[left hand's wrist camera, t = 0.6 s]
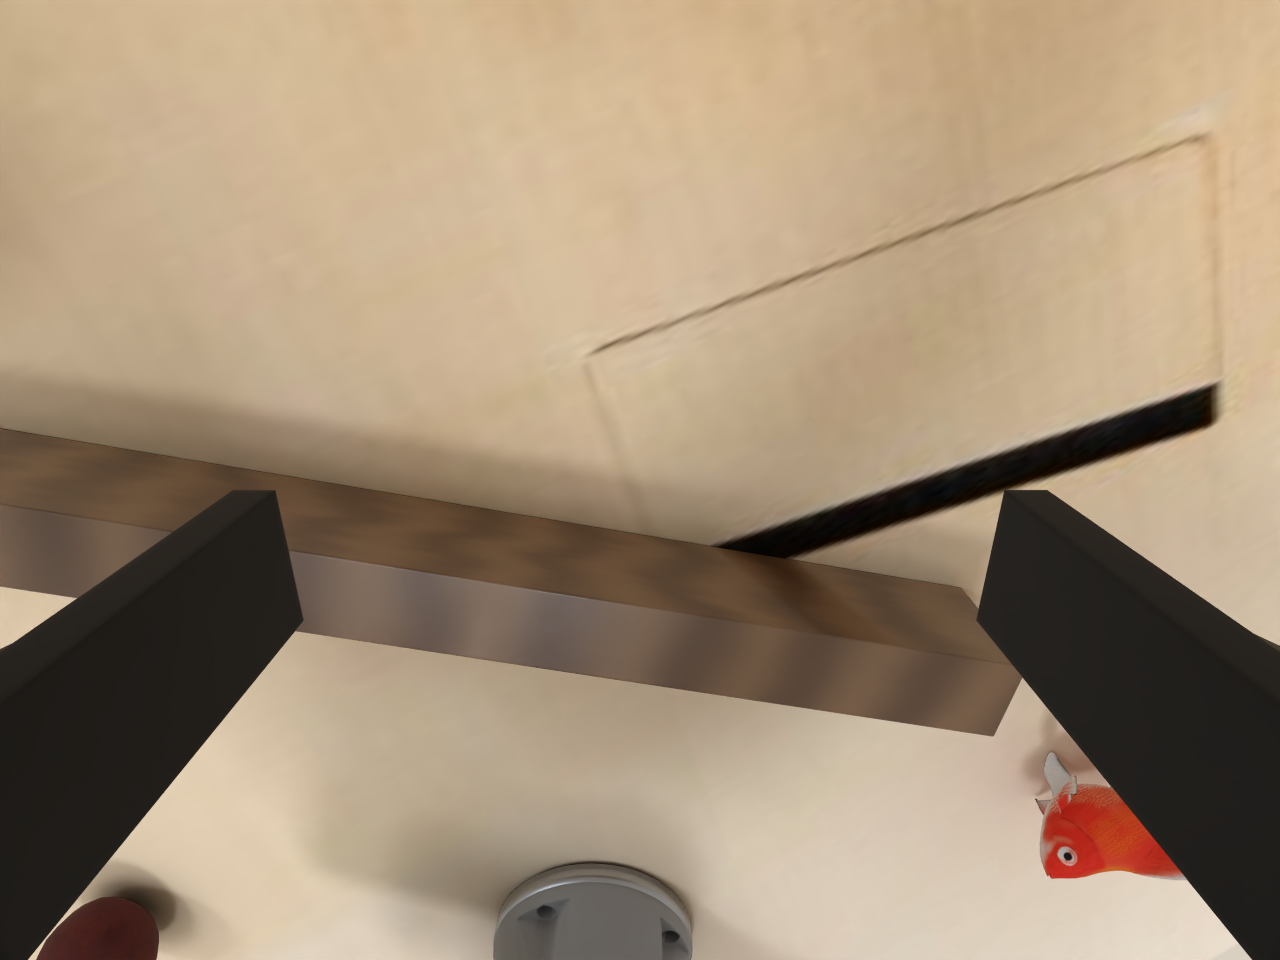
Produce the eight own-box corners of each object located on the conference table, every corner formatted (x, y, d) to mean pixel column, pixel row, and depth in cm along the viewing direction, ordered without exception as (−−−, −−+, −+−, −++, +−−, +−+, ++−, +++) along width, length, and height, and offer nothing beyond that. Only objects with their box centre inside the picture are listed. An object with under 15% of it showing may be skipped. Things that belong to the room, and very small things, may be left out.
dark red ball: (145, 867, 51) (72, 965, 44) (200, 933, 54) (139, 1035, 47) (61, 887, 52) (-22, 986, 45) (119, 952, 55) (49, 1053, 48)
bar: (961, 587, 42) (1028, 667, 35) (935, 648, 44) (994, 737, 36) (-309, 376, 37) (-540, 418, 30) (-282, 455, 39) (-493, 512, 31)
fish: (1012, 748, 40) (1187, 912, 33) (1178, 628, 45) (1362, 750, 38) (975, 824, 47) (1113, 972, 40) (1122, 713, 52) (1269, 829, 45)
